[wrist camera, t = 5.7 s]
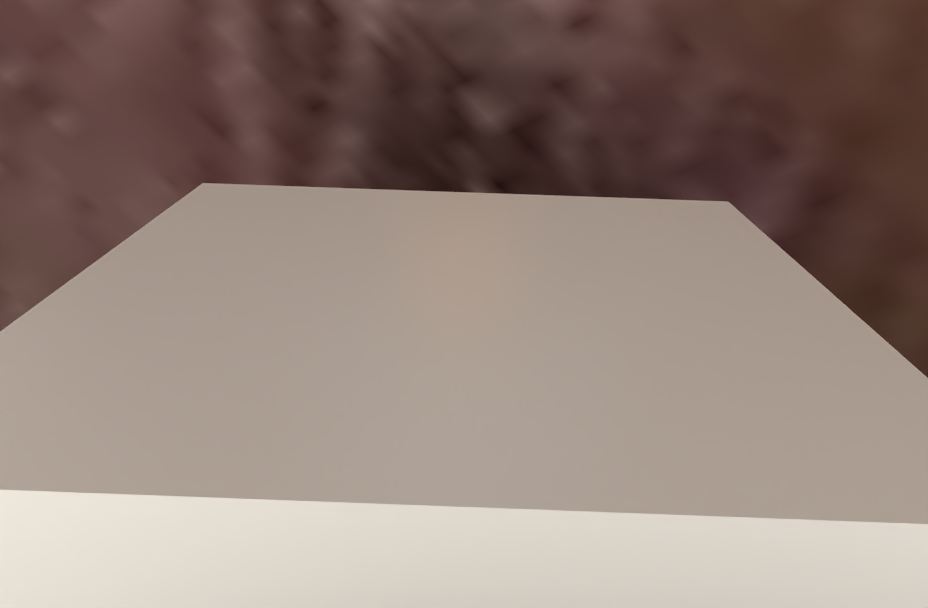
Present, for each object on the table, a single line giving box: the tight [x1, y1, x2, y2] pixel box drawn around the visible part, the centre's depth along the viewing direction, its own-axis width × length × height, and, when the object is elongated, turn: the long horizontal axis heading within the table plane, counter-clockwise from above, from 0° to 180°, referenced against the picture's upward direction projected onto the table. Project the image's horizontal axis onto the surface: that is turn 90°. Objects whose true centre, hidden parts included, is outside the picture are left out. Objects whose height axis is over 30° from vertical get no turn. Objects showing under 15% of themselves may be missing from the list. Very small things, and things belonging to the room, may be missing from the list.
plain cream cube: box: [0, 183, 928, 608], centre depth 12 cm, size 10×10×9 cm
